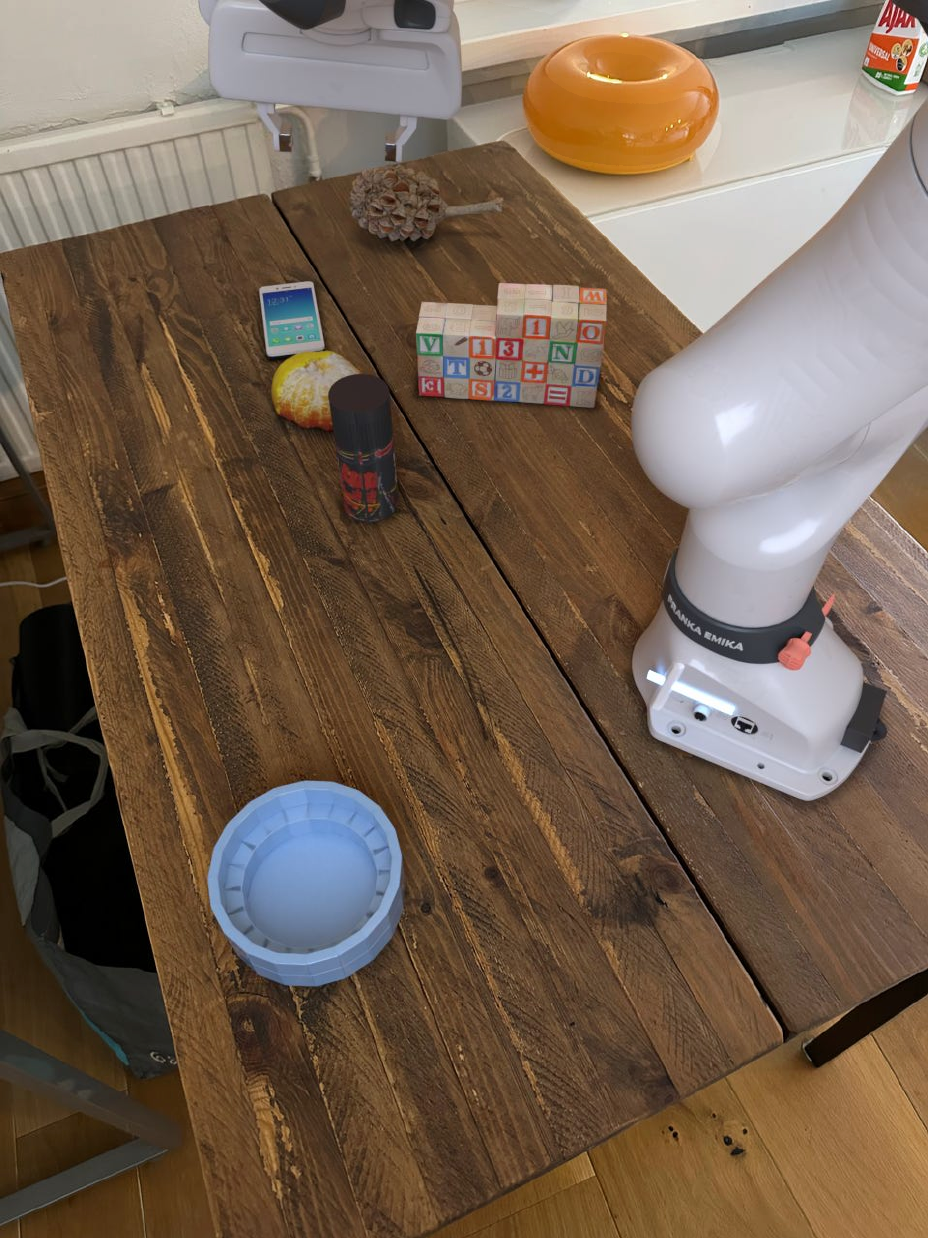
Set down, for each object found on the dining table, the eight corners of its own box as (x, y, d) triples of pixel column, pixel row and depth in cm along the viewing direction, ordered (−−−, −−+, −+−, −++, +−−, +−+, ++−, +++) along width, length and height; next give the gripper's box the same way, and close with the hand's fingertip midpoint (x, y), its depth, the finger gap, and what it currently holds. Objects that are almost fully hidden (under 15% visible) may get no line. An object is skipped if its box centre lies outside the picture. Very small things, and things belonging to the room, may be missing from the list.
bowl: (442, 882, 77) (440, 851, 73) (318, 1030, 70) (307, 1007, 66) (312, 782, 83) (303, 748, 78) (186, 911, 76) (167, 882, 71)
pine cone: (352, 258, 133) (345, 189, 125) (352, 221, 139) (345, 153, 131) (509, 250, 134) (511, 182, 126) (502, 214, 139) (504, 147, 132)
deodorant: (336, 493, 105) (319, 383, 93) (386, 477, 106) (376, 367, 94) (355, 529, 101) (340, 420, 89) (407, 511, 103) (398, 402, 91)
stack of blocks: (417, 397, 114) (413, 309, 105) (424, 365, 118) (420, 276, 108) (595, 408, 113) (607, 319, 103) (596, 374, 117) (607, 286, 107)
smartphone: (265, 355, 118) (257, 286, 127) (267, 361, 119) (259, 292, 128) (325, 348, 119) (313, 280, 128) (326, 353, 120) (314, 285, 128)
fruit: (283, 447, 108) (267, 381, 104) (275, 412, 117) (259, 350, 112) (378, 427, 110) (367, 361, 105) (363, 394, 118) (352, 331, 114)
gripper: (187, -18, 68) (211, 163, 79) (472, 12, 69) (454, 185, 81) (199, -59, 71) (221, 120, 83) (471, -30, 73) (454, 142, 84)
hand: (338, 152), depth 82 cm, fingers open, 8 cm apart
